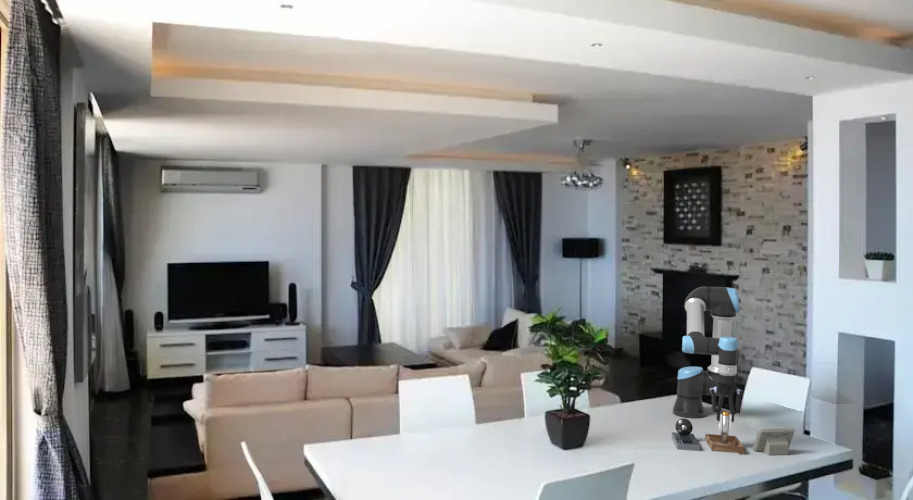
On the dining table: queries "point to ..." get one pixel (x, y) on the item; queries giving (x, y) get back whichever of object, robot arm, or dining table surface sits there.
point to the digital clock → (773, 440)
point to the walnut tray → (731, 447)
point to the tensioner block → (685, 436)
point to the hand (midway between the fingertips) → (724, 428)
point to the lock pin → (725, 427)
